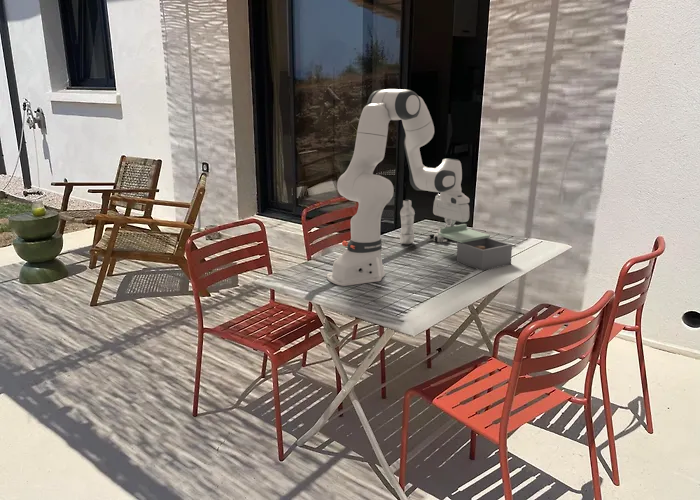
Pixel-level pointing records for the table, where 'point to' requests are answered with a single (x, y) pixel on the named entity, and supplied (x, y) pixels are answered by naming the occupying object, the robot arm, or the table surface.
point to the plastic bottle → (407, 223)
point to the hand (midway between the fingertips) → (450, 228)
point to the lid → (461, 233)
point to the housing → (484, 253)
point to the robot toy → (437, 237)
